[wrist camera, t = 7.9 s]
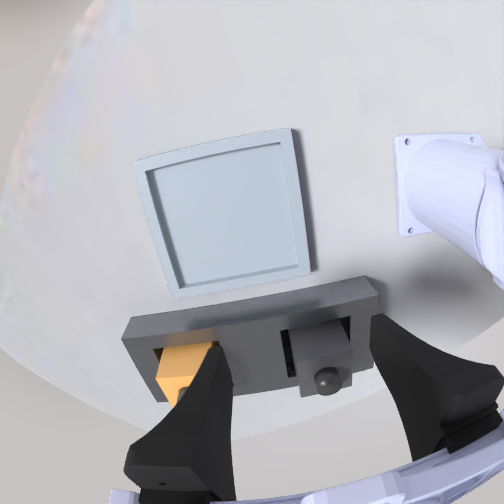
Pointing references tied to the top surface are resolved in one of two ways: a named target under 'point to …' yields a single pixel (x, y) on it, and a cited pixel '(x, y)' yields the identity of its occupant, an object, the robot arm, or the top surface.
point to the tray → (226, 213)
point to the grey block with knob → (321, 357)
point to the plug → (180, 368)
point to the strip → (256, 333)
